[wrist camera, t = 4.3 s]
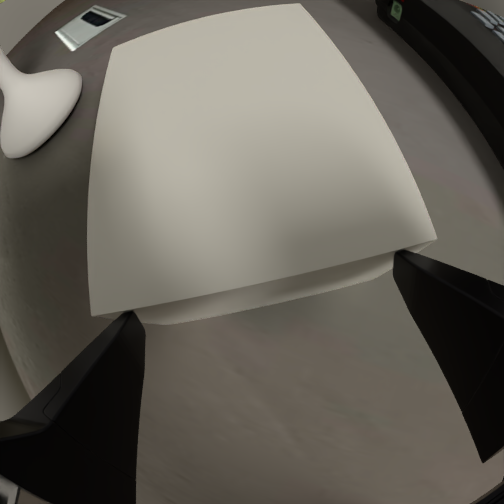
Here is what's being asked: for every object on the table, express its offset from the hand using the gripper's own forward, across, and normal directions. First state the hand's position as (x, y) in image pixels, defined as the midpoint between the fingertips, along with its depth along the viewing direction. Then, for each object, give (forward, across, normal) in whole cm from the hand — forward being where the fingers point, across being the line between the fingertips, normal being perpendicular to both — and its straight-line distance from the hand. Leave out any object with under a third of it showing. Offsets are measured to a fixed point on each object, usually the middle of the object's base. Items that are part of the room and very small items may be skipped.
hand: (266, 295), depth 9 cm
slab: (+11, 0, -1) cm, 11 cm away
